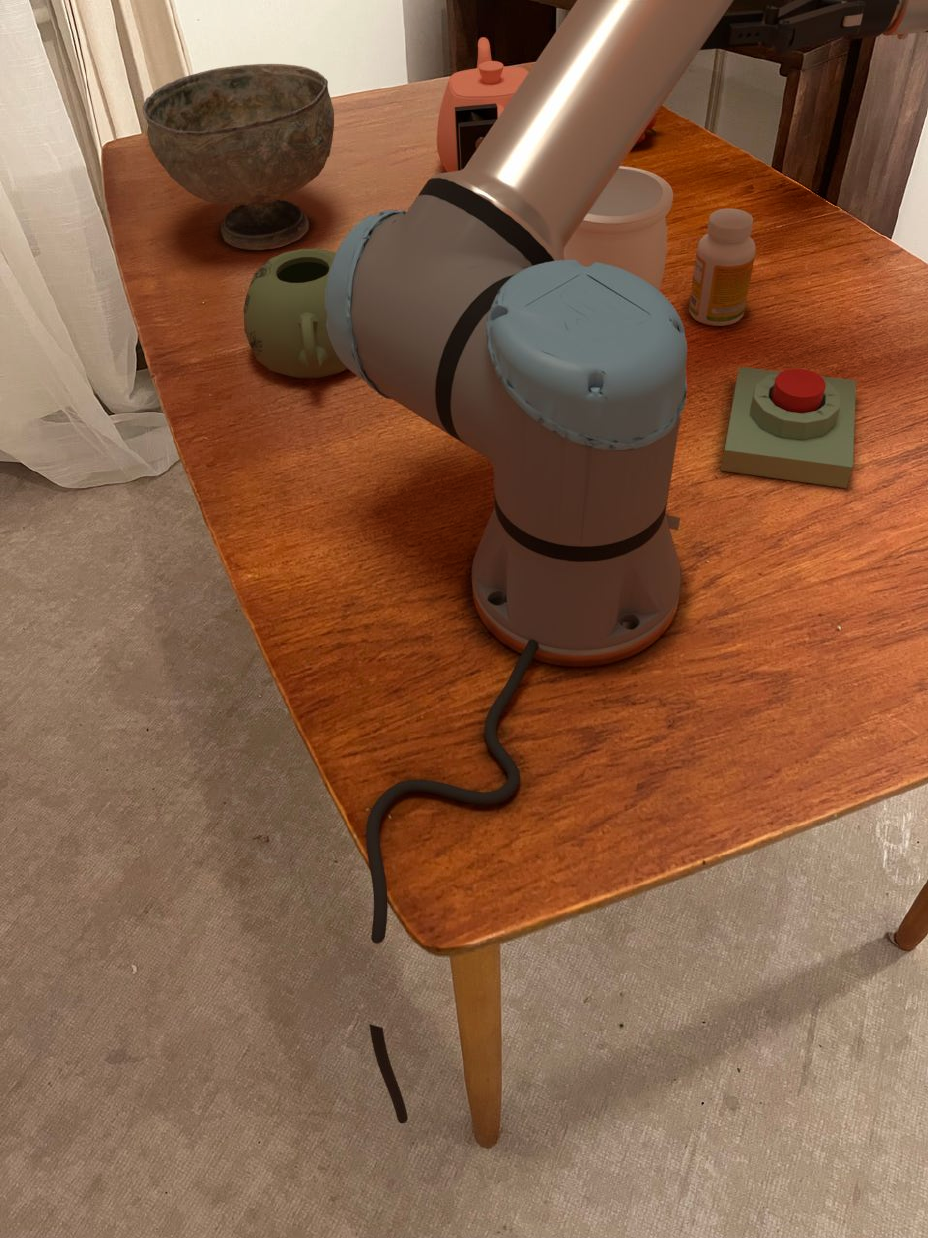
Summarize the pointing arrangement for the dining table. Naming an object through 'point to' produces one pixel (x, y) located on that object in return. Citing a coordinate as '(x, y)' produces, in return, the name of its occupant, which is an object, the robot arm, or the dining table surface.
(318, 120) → the bowl
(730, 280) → the supplement bottle
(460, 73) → the teapot
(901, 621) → the dining table surface
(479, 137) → the lock bracket
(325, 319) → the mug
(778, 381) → the button
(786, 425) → the button box
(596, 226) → the jar
